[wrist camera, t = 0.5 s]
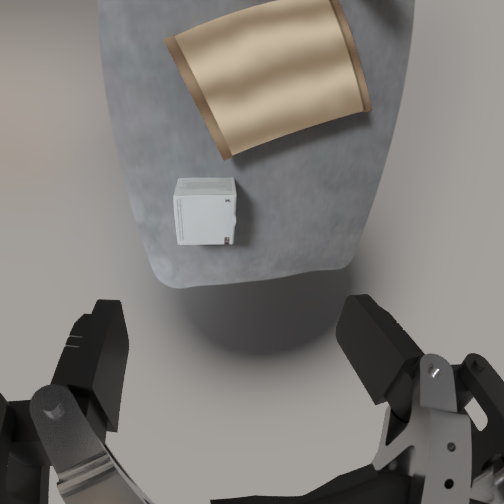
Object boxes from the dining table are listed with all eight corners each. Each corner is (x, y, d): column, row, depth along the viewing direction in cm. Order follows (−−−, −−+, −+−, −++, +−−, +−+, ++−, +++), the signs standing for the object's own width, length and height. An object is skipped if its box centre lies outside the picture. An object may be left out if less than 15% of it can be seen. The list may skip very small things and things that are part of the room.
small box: (177, 176, 35) (172, 194, 31) (235, 176, 36) (238, 194, 32) (180, 224, 40) (176, 246, 36) (232, 224, 41) (234, 245, 37)
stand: (168, 41, 23) (163, 40, 21) (324, -6, 20) (334, -11, 18) (223, 152, 33) (223, 160, 31) (361, 105, 31) (371, 110, 28)
